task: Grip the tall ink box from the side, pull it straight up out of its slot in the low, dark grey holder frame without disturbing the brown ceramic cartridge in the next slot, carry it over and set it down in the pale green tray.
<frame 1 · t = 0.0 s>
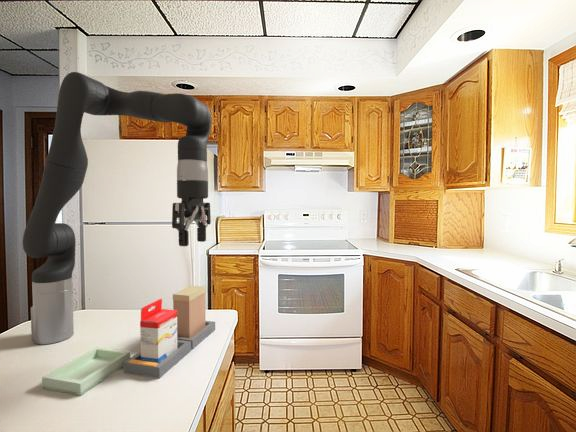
hand: (193, 243, 78), 29 cm above the counter, tool pointing down, fingers open, 8 cm apart
ink box: (160, 361, 77), resting in grey holder frame
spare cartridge: (190, 337, 91), resting in grey holder frame
tray: (89, 373, 71), on the counter
grey holder frame: (160, 360, 77), on the counter
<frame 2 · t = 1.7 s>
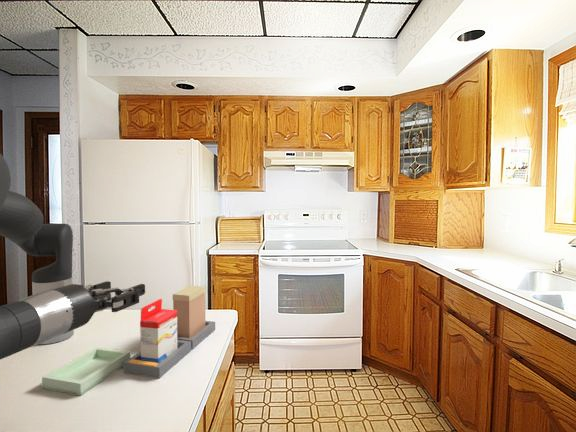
hand: (126, 287, 66), 22 cm above the counter, tool horizontal, fingers open, 8 cm apart
nothing on the counter moved.
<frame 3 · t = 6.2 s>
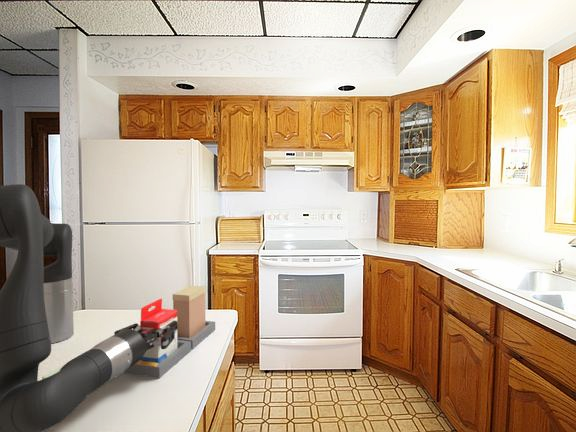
hand: (166, 323, 80), 9 cm above the counter, tool horizontal, fingers closed on ink box, 5 cm apart
ink box: (160, 361, 77), resting in grey holder frame, touching gripper
everything else where it was.
when the fingers open (10 cm above the counter, at t = 12.5 s): ink box drops 1 cm, resting on tray.
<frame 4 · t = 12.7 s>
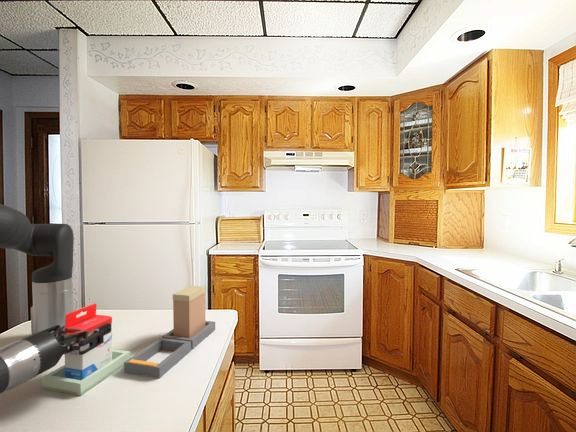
hand: (97, 325, 73), 10 cm above the counter, tool horizontal, fingers open, 6 cm apart
ink box: (90, 372, 71), resting on tray
everything else where it was.
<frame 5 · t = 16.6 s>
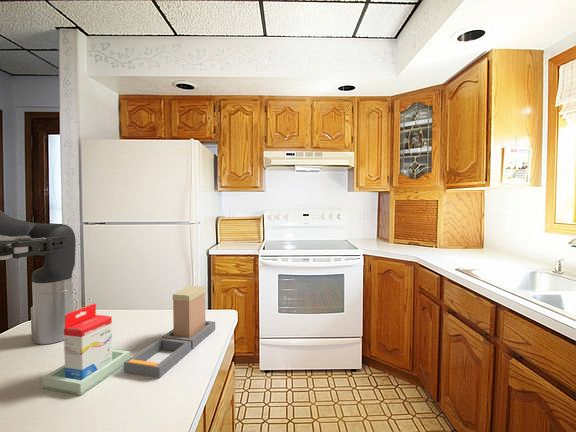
hand: (46, 241, 61), 32 cm above the counter, tool horizontal, fingers open, 8 cm apart
nothing on the counter moved.
at the end: ink box inside the target area on the tray (0.2 cm from its centre), point 0.4 cm above the tray's base; ink box tilted 0°; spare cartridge moved 0.0 cm from its start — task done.
